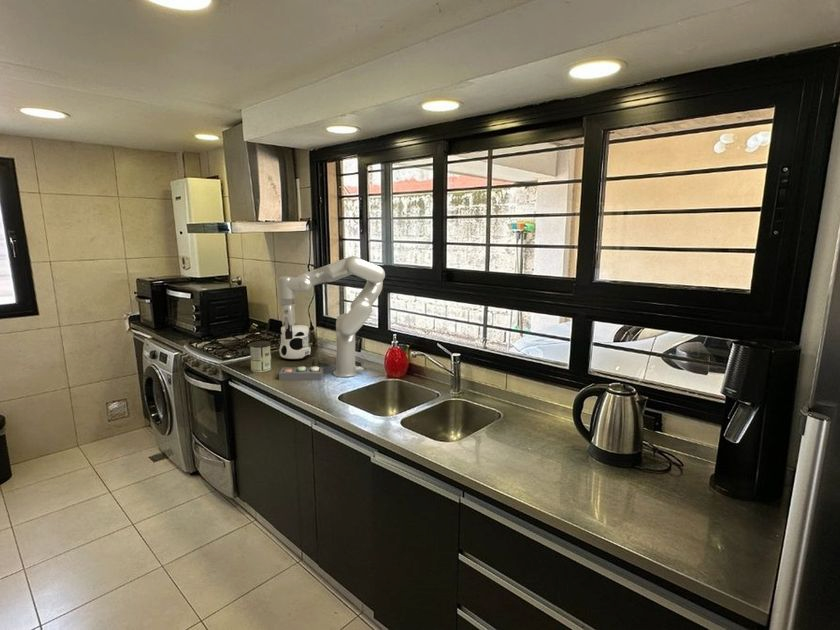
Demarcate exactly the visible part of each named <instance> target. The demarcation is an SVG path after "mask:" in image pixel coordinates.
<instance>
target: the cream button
mask: <svg viewBox="0 0 840 630" xmlns="http://www.w3.org/2000/svg"><path fill="white" fill-rule="evenodd" d="M310 367H311V372H319V366H317V365H315V366H310Z"/></svg>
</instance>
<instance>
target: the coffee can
mask: <svg viewBox="0 0 840 630" xmlns="http://www.w3.org/2000/svg"><path fill="white" fill-rule="evenodd" d="M249 349H250V351H249V352H250V370H251V372H254V373H264V372H269V371H271V370H272V342H270V341H267V340H257V341H253V342H250V343H249Z"/></svg>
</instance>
